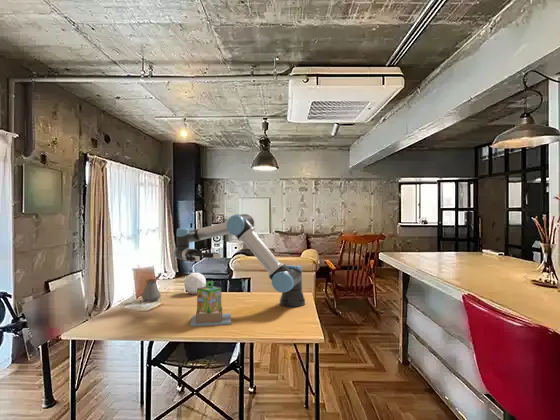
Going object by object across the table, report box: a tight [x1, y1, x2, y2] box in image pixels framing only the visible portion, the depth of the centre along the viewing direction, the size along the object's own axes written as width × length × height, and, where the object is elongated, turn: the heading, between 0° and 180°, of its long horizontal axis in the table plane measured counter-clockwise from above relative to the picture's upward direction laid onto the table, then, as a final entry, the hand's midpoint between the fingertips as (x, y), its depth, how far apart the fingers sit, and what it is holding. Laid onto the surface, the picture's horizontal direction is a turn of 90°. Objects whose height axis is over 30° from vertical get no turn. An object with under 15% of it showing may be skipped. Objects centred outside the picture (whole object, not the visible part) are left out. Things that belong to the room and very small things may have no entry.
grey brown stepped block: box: [189, 306, 232, 327], centre depth 203 cm, size 20×16×6 cm
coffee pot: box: [141, 272, 163, 302], centre depth 254 cm, size 21×12×15 cm, turn 173°
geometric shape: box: [183, 271, 207, 295], centre depth 268 cm, size 14×15×15 cm
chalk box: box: [196, 280, 222, 313], centre depth 203 cm, size 9×9×15 cm
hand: (209, 257), depth 222 cm, fingers open, 13 cm apart
